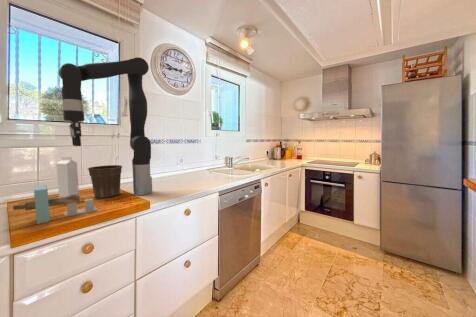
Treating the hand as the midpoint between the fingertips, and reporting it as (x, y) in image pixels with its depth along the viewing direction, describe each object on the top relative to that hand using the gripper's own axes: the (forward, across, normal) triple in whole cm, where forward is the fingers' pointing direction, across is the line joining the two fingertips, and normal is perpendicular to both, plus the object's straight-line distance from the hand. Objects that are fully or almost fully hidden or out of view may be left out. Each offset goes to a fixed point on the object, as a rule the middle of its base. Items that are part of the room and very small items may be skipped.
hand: (76, 145), depth 96 cm
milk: (+28, +20, +3) cm, 35 cm away
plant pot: (+29, +11, -12) cm, 33 cm away
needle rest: (+28, -13, +2) cm, 31 cm away
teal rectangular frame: (+28, -12, +14) cm, 33 cm away
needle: (+23, -12, +12) cm, 29 cm away
